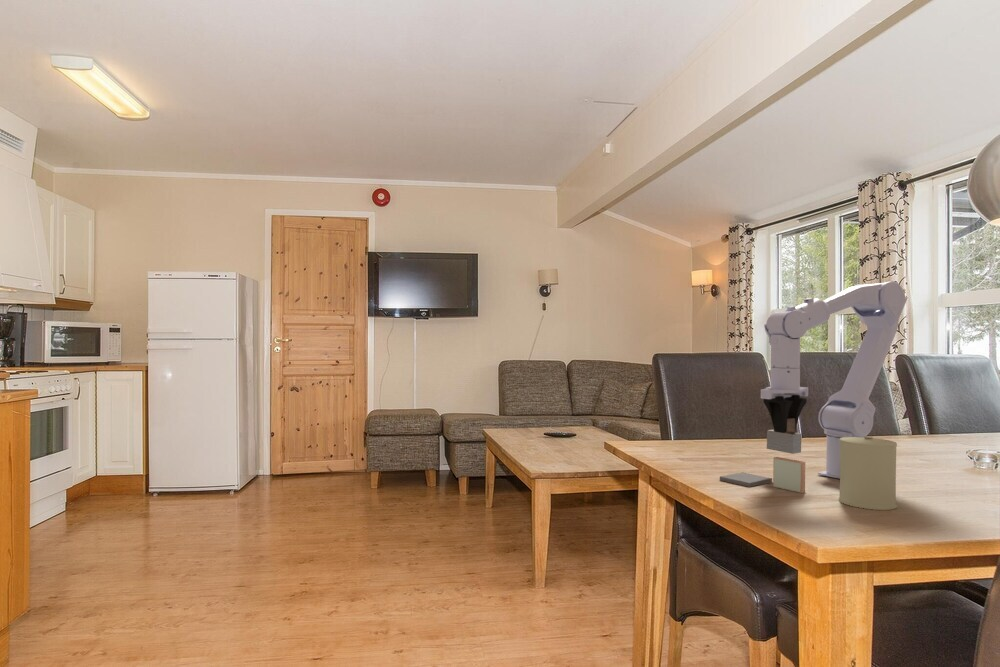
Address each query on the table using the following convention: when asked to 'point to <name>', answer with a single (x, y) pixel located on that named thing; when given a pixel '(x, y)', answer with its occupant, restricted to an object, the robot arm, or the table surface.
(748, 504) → the table surface
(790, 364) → the robot arm
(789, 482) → the tile
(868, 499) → the can
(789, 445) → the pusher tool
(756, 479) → the mat
